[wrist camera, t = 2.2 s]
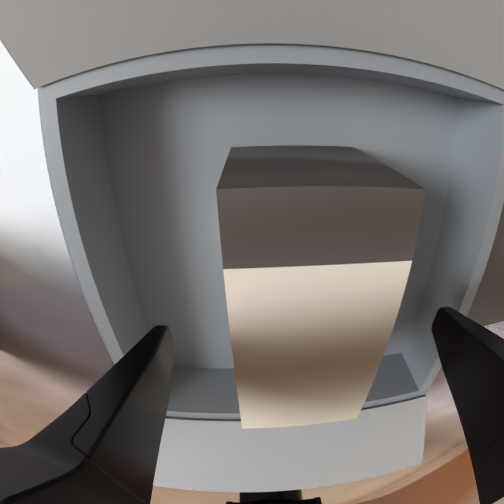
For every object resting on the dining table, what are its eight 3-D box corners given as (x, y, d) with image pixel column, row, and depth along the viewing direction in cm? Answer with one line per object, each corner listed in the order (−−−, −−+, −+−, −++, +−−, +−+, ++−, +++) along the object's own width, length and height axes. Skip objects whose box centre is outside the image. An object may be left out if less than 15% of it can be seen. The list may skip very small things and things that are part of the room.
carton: (391, 383, 20) (419, 465, 14) (166, 397, 21) (150, 486, 14) (456, 19, 8) (571, 7, 2) (88, 12, 9) (-28, -23, 2)
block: (331, 329, 16) (356, 418, 11) (243, 334, 16) (242, 428, 11) (351, 146, 12) (425, 189, 6) (231, 147, 12) (216, 189, 6)
